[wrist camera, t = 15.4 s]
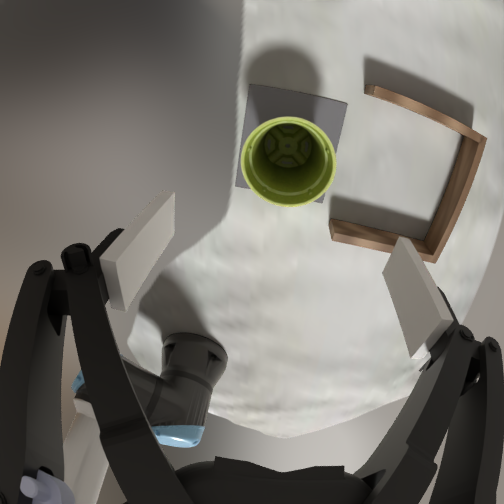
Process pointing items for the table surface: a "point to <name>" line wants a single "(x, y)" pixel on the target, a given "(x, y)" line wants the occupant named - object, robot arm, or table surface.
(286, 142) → the plant pot
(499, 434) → the robot arm
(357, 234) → the walnut bay
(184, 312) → the table surface
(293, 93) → the charcoal mat
